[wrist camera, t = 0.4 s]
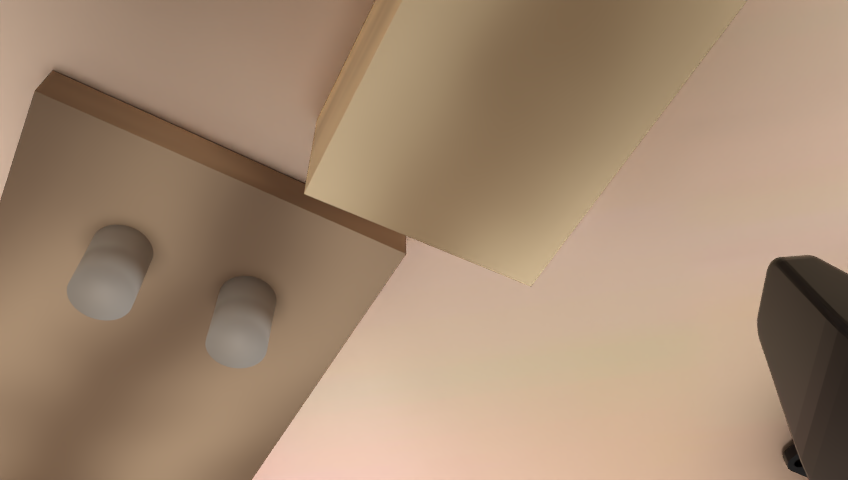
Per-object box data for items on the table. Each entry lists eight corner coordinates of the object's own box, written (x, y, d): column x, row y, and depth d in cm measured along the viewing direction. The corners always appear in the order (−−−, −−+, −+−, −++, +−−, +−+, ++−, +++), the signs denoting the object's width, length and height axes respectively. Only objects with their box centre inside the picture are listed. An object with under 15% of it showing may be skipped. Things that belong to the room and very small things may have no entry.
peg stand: (405, 229, 23) (407, 300, 20) (178, 569, 32) (158, 648, 29) (53, 70, 19) (0, 130, 17) (-86, 498, 29) (-134, 579, 26)
